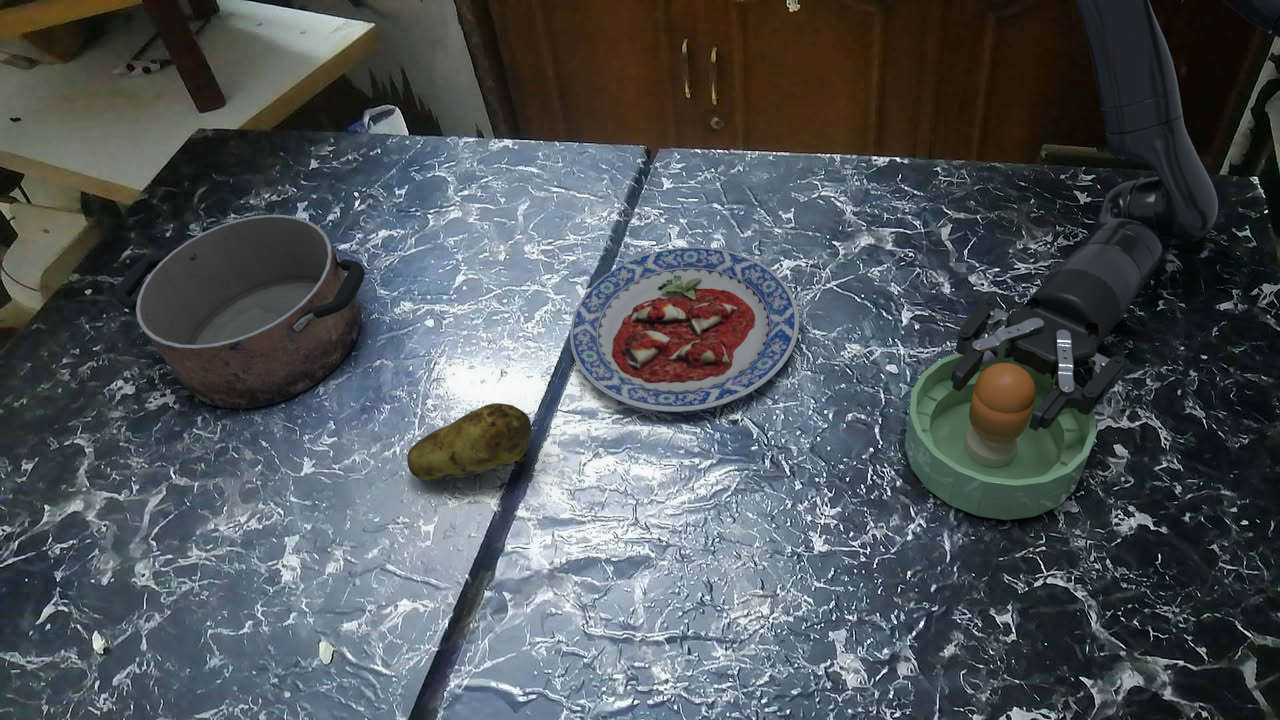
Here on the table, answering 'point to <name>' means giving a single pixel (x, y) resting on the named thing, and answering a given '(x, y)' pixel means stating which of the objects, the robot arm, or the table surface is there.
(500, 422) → the potato
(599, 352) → the ceramic plate
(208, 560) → the table surface
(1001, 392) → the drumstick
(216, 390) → the cooking pot
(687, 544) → the table surface
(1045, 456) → the green round shallow dish
